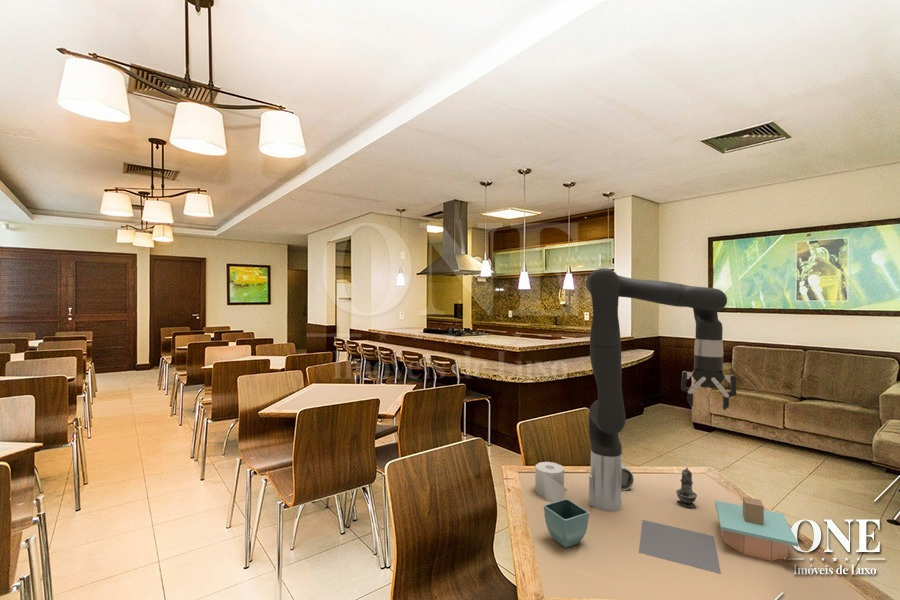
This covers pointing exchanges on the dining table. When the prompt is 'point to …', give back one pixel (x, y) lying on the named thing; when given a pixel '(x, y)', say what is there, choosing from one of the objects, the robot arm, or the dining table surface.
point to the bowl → (755, 546)
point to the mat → (679, 546)
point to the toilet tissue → (550, 481)
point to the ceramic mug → (626, 478)
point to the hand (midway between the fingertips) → (707, 407)
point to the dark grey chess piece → (686, 491)
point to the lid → (754, 521)
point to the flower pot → (566, 522)
